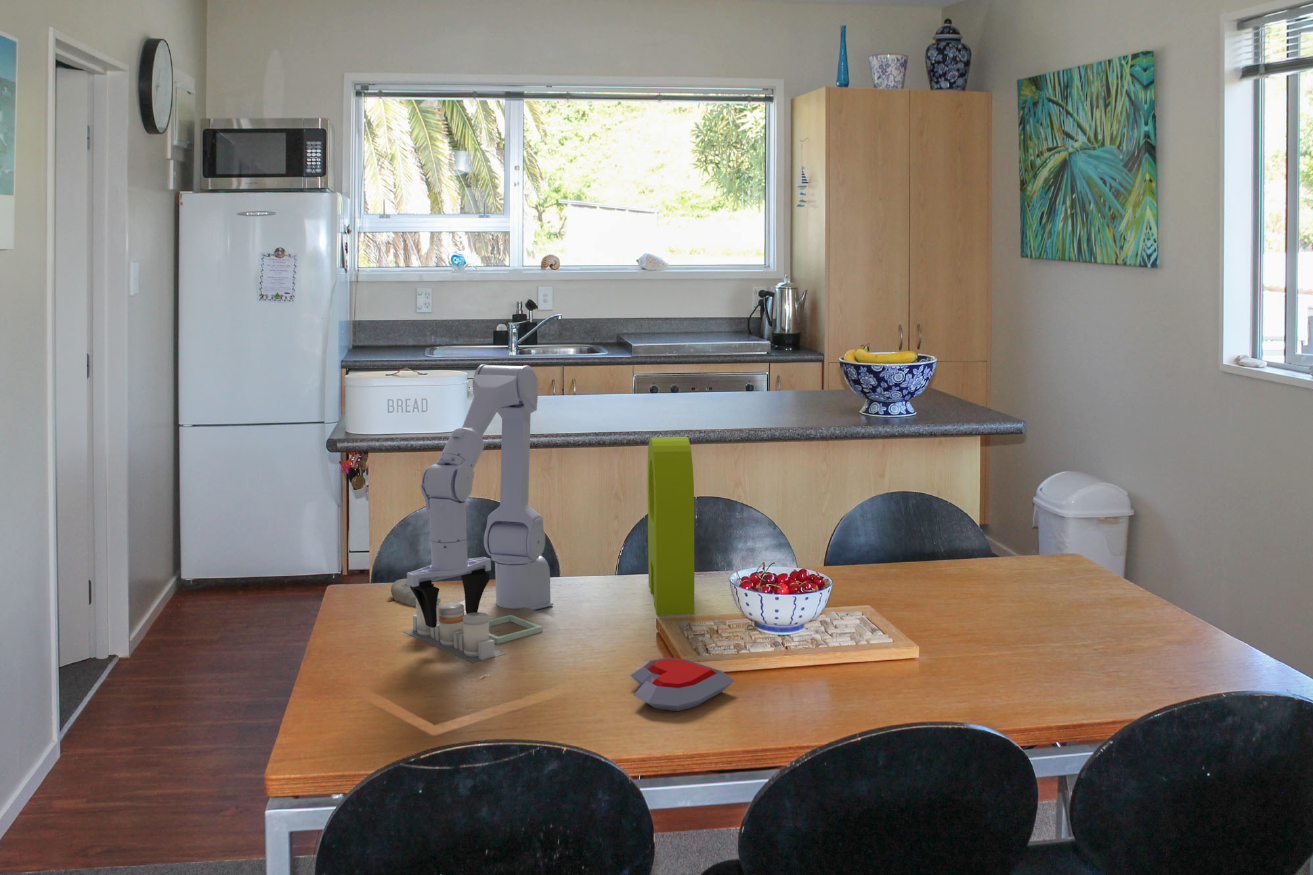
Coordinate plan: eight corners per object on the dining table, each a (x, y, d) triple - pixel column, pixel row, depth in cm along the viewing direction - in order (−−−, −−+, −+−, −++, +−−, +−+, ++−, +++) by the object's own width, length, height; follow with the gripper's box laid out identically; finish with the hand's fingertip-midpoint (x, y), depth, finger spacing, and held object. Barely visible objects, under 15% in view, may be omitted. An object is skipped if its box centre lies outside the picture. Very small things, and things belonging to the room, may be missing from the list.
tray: (511, 624, 202) (510, 614, 201) (542, 636, 195) (542, 626, 195) (466, 636, 196) (466, 625, 195) (497, 649, 189) (497, 638, 189)
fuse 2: (480, 647, 187) (479, 610, 186) (494, 653, 184) (493, 616, 183) (459, 652, 185) (457, 616, 184) (473, 659, 182) (472, 621, 181)
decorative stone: (411, 617, 207) (411, 598, 206) (381, 596, 220) (380, 578, 219) (444, 611, 210) (443, 593, 210) (412, 591, 223) (412, 573, 223)
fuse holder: (434, 629, 199) (433, 609, 199) (505, 660, 184) (504, 638, 183) (403, 637, 195) (402, 617, 195) (473, 669, 180) (472, 647, 179)
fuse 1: (433, 627, 197) (432, 592, 196) (446, 632, 194) (445, 597, 194) (412, 632, 195) (411, 597, 194) (425, 637, 192) (424, 602, 191)
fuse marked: (456, 636, 192) (455, 601, 191) (470, 642, 189) (469, 606, 188) (434, 642, 190) (433, 606, 189) (448, 648, 187) (447, 612, 186)
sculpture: (726, 672, 178) (628, 676, 177) (726, 649, 178) (628, 652, 177) (744, 715, 162) (635, 720, 160) (744, 689, 161) (635, 694, 160)
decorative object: (648, 583, 226) (647, 430, 221) (683, 582, 226) (682, 429, 222) (656, 615, 206) (655, 447, 202) (694, 614, 207) (693, 446, 202)
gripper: (473, 527, 195) (475, 606, 197) (395, 542, 185) (399, 624, 187) (497, 534, 189) (499, 615, 191) (418, 549, 180) (422, 635, 182)
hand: (451, 621), depth 189 cm, fingers open, 7 cm apart
